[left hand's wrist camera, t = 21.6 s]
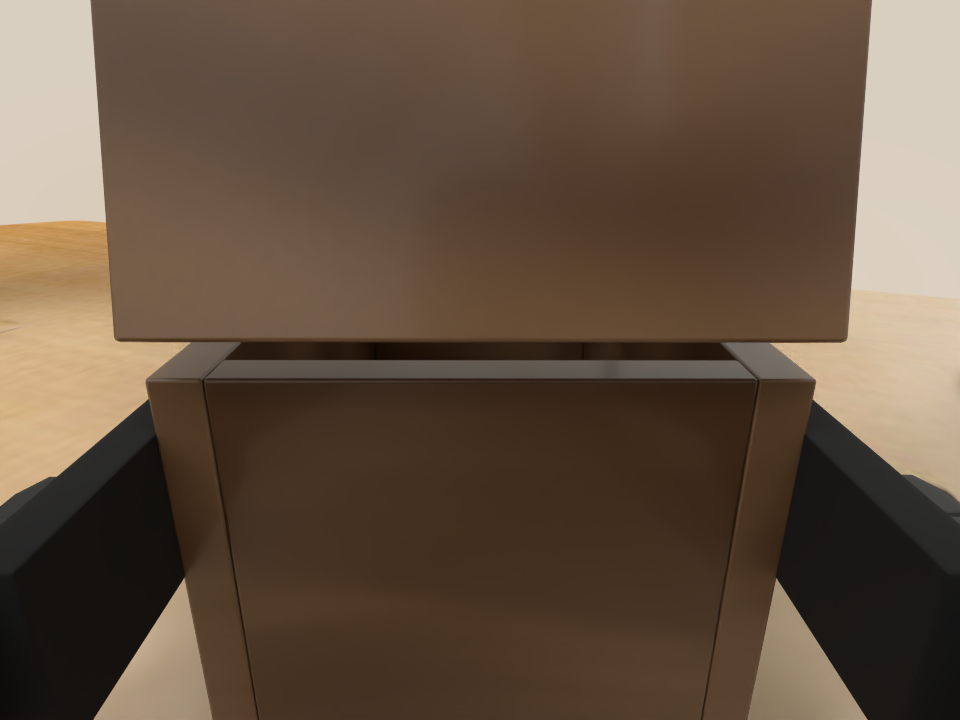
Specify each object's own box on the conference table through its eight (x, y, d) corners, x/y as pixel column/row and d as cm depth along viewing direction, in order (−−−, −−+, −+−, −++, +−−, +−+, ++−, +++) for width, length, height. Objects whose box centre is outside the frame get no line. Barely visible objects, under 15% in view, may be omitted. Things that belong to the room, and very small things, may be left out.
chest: (362, 425, 28) (348, 214, 25) (595, 425, 28) (610, 214, 25) (226, 797, 13) (142, 379, 10) (732, 796, 13) (818, 380, 10)
